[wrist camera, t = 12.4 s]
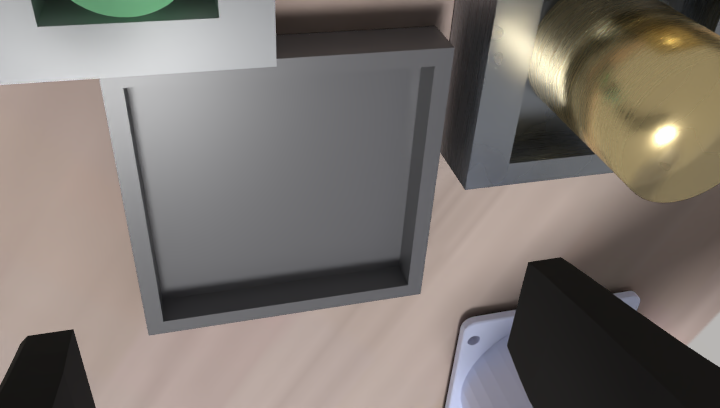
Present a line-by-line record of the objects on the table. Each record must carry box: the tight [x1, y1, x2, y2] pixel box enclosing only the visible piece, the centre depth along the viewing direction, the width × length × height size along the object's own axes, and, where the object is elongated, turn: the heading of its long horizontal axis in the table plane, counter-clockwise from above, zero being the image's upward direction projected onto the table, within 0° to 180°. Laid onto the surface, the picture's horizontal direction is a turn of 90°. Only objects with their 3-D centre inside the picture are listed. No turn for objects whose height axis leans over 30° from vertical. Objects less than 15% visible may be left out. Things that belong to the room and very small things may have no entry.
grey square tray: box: [99, 26, 455, 335], centre depth 20 cm, size 9×9×2 cm
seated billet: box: [528, 0, 720, 203], centre depth 18 cm, size 4×4×5 cm
